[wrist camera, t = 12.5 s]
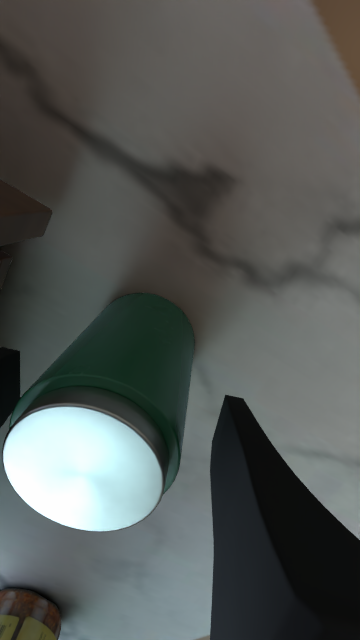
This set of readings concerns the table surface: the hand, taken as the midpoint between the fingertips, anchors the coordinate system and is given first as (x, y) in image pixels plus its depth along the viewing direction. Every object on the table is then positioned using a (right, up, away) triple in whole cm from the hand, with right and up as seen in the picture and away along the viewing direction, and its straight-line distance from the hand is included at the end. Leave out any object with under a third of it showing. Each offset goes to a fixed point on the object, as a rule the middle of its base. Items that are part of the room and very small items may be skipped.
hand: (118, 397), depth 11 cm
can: (0, +2, +4) cm, 5 cm away
